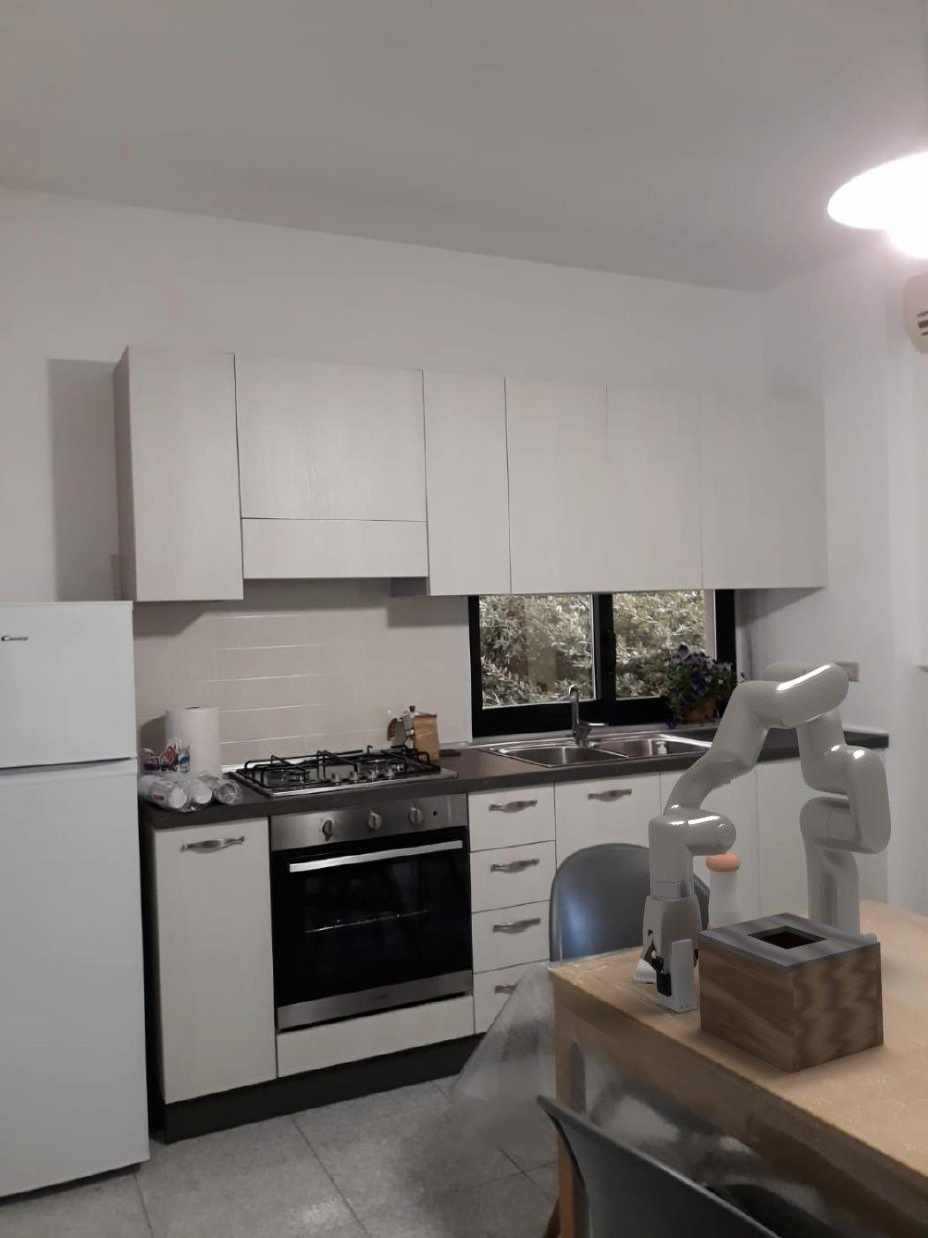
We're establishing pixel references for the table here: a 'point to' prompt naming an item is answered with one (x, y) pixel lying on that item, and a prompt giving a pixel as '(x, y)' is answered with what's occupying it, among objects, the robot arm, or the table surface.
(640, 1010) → the table surface
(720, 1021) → the slot box
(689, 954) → the skincare box
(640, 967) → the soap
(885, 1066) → the table surface
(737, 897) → the pepper shaker
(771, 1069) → the table surface
